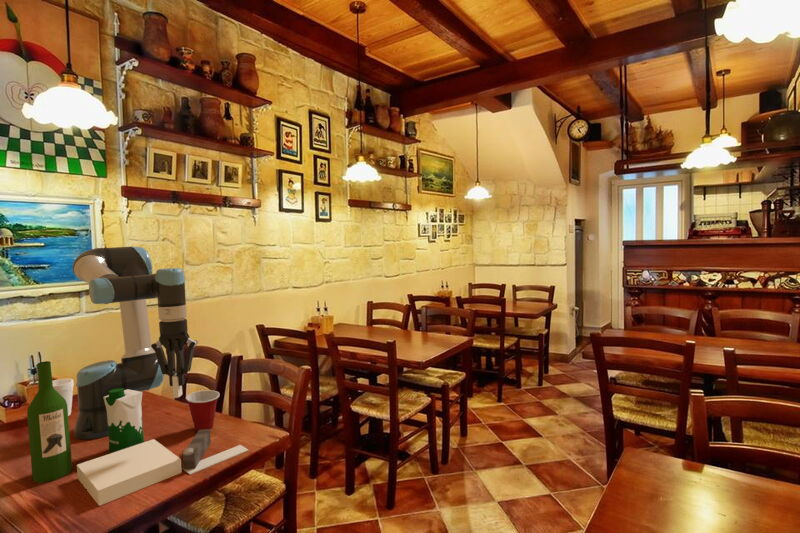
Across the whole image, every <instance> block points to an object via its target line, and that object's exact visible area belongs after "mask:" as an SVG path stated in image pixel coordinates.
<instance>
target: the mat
mask: <svg viewBox="0 0 800 533" xmlns="http://www.w3.org/2000/svg"><path fill="white" fill-rule="evenodd" d="M249 450H250V449H248V448H247V447H245V446H243V445H242V444H238V445H236V446H233V447H231V448H228V449H227V450H224V451H221V452H219V453H216V454H214V455H211V456H208V457H206V458H203V459H201V460H200V461H199V463H198V465H197V466H196V468H191V469H184V468H183V467H181V470H183V471H184V472H186V473H187V474H188V475H189V476H190V475H193V474H195V473H198V472H200V471H203V470H205V469H208V468H209V467H212V466H215V465H217V464H220V463H222V462H225V461H226V460H229V459H232V458H235V457H236V456H239V455H241V454H243V453H244V454H245V453H246V452H249Z"/></svg>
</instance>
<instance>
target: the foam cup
mask: <svg viewBox="0 0 800 533" xmlns="http://www.w3.org/2000/svg"><path fill="white" fill-rule="evenodd" d="M52 382H53V388H54V389H55V390H56V391H57V392H58V393H59V394H60V395H61V396H62V397H63V398H64V399H65V400H66V403H67V408H68V417H70V416H71V414H72V406H73V395H74V394H73V393H74V386H75V382H74V379H73V378H59V379H55V380H52Z"/></svg>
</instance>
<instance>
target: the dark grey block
mask: <svg viewBox="0 0 800 533" xmlns="http://www.w3.org/2000/svg"><path fill="white" fill-rule="evenodd" d="M210 445H211V429H205V430H199V431H197V433H196V434H195V435H194V437H193V438H192V440H191V441H190V443H189V444H188V446H187V447H186V448H185V449H184V450H183V451H182V452H183V453H182V466H183V467H182V468H184V469H191V468H196V466H197V465H198V463H199V461H201V460H202V457H203V456H204V455H205V452H206V451H207V449H208V448H209V446H210Z"/></svg>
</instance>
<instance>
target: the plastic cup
mask: <svg viewBox="0 0 800 533" xmlns="http://www.w3.org/2000/svg"><path fill="white" fill-rule="evenodd" d="M219 398H220V392H219V391H217V390H213V389H212V390H210V389H209V390H208V389H206V390H198V391H197V390H196V391H193V392H190V393H189V394H187V395H186V396H185V400H186V401H187V404H188V407H189V411H190V415H191V419H192V422H193V426H194V427H193V428H194V430H195V431H196V432H198V431H199V430H205V429H210V430H211V429H213V428H214V424H215V416H216V408H217V403H218V399H219Z"/></svg>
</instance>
